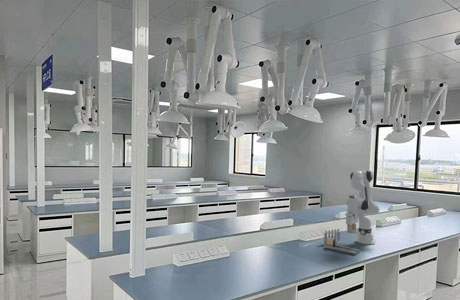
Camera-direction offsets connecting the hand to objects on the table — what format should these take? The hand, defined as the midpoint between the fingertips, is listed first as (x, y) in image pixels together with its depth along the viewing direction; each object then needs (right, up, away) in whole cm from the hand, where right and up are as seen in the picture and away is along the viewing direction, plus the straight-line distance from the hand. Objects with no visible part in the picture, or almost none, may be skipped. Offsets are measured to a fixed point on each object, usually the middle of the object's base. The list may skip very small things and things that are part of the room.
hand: (352, 228), depth 286 cm
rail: (-11, -19, -2) cm, 22 cm away
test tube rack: (-11, -20, +21) cm, 31 cm away
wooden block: (0, -4, 0) cm, 4 cm away
